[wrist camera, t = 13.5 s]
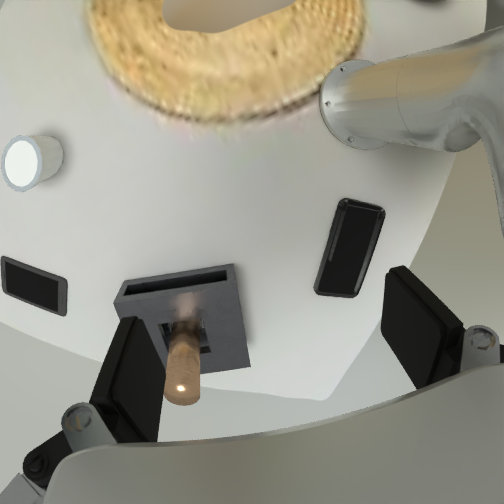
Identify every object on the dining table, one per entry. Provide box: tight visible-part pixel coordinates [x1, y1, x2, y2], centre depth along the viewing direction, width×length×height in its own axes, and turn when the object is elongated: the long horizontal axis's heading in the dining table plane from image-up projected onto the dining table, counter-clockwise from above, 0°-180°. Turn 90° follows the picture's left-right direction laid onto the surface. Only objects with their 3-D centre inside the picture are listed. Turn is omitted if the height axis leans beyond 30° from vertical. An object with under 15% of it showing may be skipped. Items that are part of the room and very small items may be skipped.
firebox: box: [113, 264, 251, 374], centre depth 41 cm, size 16×14×6 cm
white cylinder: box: [1, 135, 64, 192], centre depth 29 cm, size 7×7×7 cm
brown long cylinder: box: [164, 318, 201, 406], centre depth 37 cm, size 4×4×16 cm
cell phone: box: [1, 256, 68, 316], centre depth 39 cm, size 7×14×1 cm, turn 70°
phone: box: [313, 198, 386, 298], centre depth 43 cm, size 8×1×15 cm
